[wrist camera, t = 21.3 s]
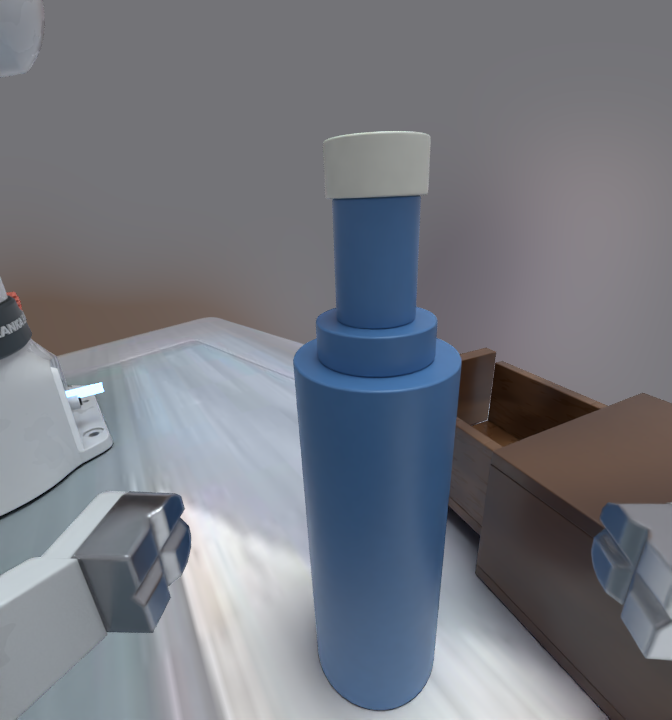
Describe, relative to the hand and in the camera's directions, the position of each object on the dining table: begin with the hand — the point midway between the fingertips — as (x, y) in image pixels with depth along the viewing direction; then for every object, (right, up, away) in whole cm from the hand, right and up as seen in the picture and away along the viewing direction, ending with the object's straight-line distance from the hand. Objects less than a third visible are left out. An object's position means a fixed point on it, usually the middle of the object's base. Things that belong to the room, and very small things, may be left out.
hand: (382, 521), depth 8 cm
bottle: (+1, -11, +12) cm, 16 cm away
